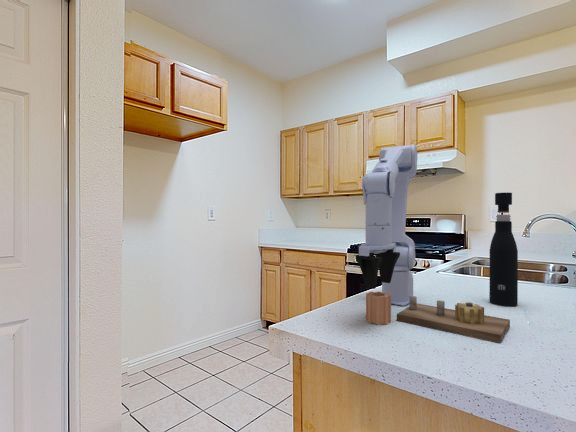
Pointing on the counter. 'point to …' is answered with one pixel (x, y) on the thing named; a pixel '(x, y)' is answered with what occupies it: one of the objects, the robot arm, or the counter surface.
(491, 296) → the black bottle
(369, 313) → the gear
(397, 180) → the robot arm
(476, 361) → the counter surface
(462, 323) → the gear board
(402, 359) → the counter surface
